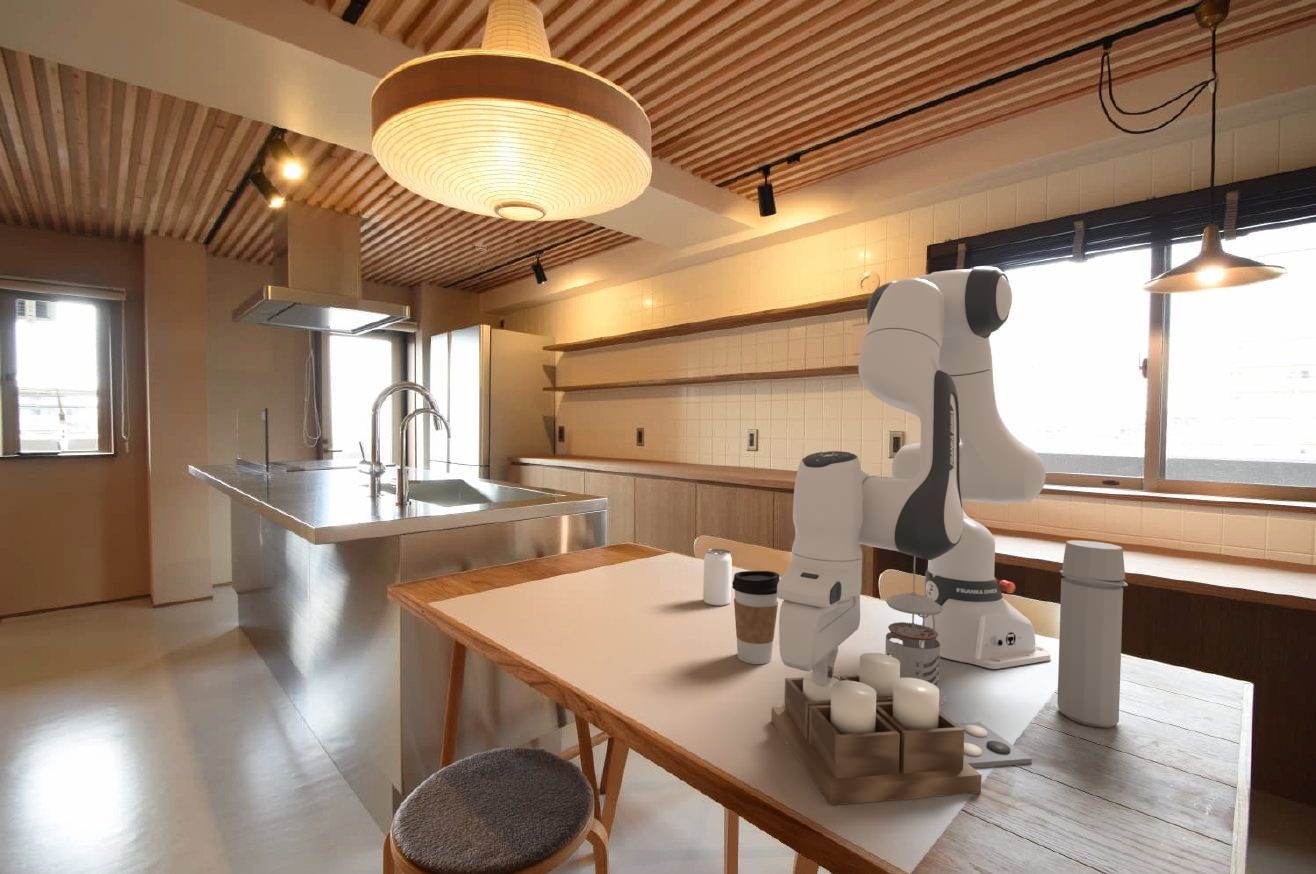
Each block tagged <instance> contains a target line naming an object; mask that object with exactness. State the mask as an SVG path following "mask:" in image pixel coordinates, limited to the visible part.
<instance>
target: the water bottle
mask: <svg viewBox="0 0 1316 874" xmlns="http://www.w3.org/2000/svg"><path fill="white" fill-rule="evenodd" d="M1059 573H1060V574H1061V576H1062V578H1061V579H1060V607H1059V608H1060V609H1059V615H1060V616H1059V637H1058V638H1059V640H1058V641H1059V643H1058V645H1059V646H1058V667H1057V668H1058V669H1057V670H1058V672H1057V675H1058V676H1057V677H1058V678H1057V701H1056V702H1057V707H1058V710H1059V711H1060V712H1061V714H1062V715H1064V716H1066V717H1067V718H1069V719H1070V720H1072V721H1074V722H1076V723H1079V724H1081V725H1084V726H1085V725H1086V726H1089V727H1094V728H1112V727H1113V726H1115V725H1117V724H1118V723H1119V722H1120V697H1121V696H1120V692H1121V689H1120V688H1121V665H1122V663H1121V661H1122V634H1123V633H1122V630H1123V629H1122V628H1123V603H1124V599H1123V597H1124V588H1123V587H1128V586H1129V584H1128V583H1127V582H1125V580H1126V570H1125V559H1124V548H1123V547H1122V546H1120V545H1116V544H1112V543H1108V542H1107V543H1106V542H1099V541H1090V540H1066V541H1065V545H1064V554H1063V562H1062V569H1061V570H1059Z"/></svg>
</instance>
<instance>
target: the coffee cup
mask: <svg viewBox="0 0 1316 874" xmlns="http://www.w3.org/2000/svg"><path fill="white" fill-rule="evenodd" d="M779 581H780V574H779V573H778V572H775V571H772V570H771V571H770V570H746V571H738V572H736V573H734V575H733V580H732V581H731V589H733V590H734V599H733V602H734V603H733V605H734V607H733V608H734V619H735V632H736V635H735V636H736V644H737V645H736V647H737V648H736V649H737V650H736V651H737V658H738V659H739V661H742V662H744V663H746V664H750V665H764V664H769V663H770V662H771V661H772V657H773V656H772V655H773V646H774V638H775V632H776V631H775V630H776V623H777V615H778V607H779V602H778V597H777V585H778V582H779Z"/></svg>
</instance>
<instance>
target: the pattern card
mask: <svg viewBox="0 0 1316 874" xmlns="http://www.w3.org/2000/svg"><path fill="white" fill-rule="evenodd" d="M955 723H956V724H957V725H959V726H960V727H961V728H963V729H964V758H963V760H964V761H965V762H967V763H968V764H969V765H970V766H971V767H973V768H974V769H975V768H976V769H977V768H986V767H987V768H989V767H1001V766H1002V767H1003V766H1012V765H1027V764H1032V760H1033V759H1032V758H1031V757H1030V756H1029V755H1027V754H1026V753H1025V752H1023V751H1022V750H1021V749H1019V748H1017V747H1016V746H1015V745H1013V744H1012V743H1010V742H1009V741H1008V740H1007V739H1004V737H1002V736H1000V735H999V734H998V733H996V731H995V732H994V731H993V730H992V729H991V728H989V727H988V726H986V725H985V724H983V723H982V722H981V721H970V722H969V721H968V722H955Z"/></svg>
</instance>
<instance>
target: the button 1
mask: <svg viewBox="0 0 1316 874" xmlns="http://www.w3.org/2000/svg"><path fill="white" fill-rule="evenodd" d="M803 677H804V679H803V694H804V695H805V696H806V697H807V698H808V699H809V700H810V701H824V700H831V686H832V684H833V683H834V682H837V681H839V680H838V679H836V678H834V677H833V678H832V679H831V680H830V681H829V682H828V683H827V684H826V685H825V686H821V685H818V684H815V683H814V682H813V674H809V675H805V676H803Z"/></svg>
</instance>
